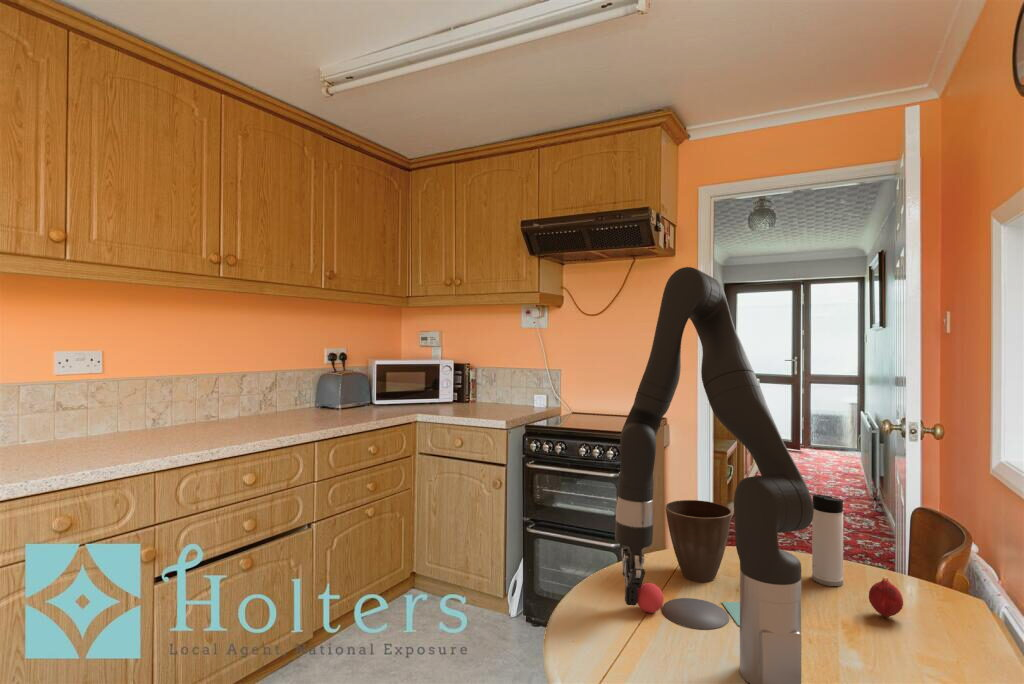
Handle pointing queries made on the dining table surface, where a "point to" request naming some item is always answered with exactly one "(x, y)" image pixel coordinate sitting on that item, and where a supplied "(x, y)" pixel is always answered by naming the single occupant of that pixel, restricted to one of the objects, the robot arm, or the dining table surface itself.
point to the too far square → (733, 610)
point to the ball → (649, 597)
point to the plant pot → (698, 536)
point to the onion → (885, 598)
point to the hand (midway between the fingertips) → (630, 603)
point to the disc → (695, 613)
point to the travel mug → (827, 540)
